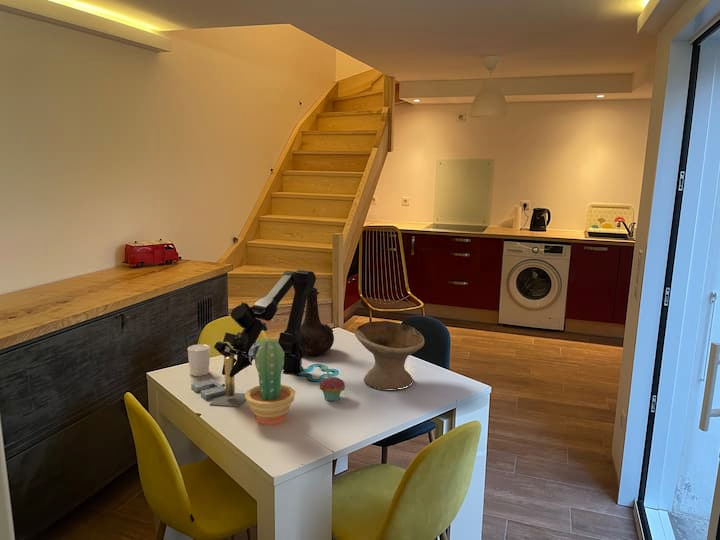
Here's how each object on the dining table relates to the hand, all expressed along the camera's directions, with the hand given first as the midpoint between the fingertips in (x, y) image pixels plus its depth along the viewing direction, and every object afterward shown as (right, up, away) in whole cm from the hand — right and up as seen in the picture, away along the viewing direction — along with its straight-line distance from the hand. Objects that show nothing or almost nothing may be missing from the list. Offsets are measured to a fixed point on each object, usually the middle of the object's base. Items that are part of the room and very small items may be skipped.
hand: (226, 375), depth 171 cm
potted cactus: (+16, -11, -10) cm, 22 cm away
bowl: (+54, -7, +22) cm, 59 cm away
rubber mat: (0, -9, +3) cm, 9 cm away
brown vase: (+23, -1, +53) cm, 58 cm away
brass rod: (+1, -7, +2) cm, 7 cm away
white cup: (-17, -5, +26) cm, 32 cm away
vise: (-7, -7, +10) cm, 14 cm away
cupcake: (+34, -9, +6) cm, 36 cm away
